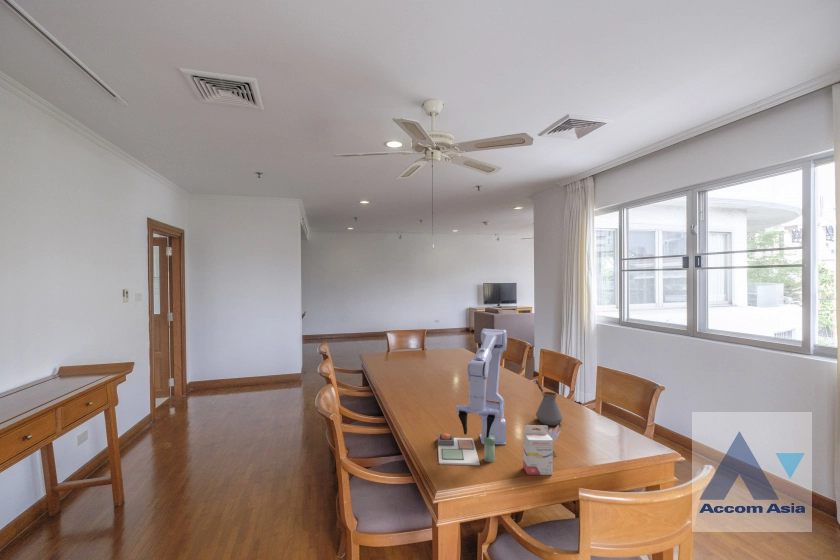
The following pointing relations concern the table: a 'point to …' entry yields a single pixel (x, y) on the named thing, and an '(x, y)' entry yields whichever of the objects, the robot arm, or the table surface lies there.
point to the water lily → (554, 435)
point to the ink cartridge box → (537, 450)
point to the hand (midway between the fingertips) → (476, 435)
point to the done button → (445, 436)
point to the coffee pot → (548, 409)
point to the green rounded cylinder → (489, 448)
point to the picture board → (457, 451)
